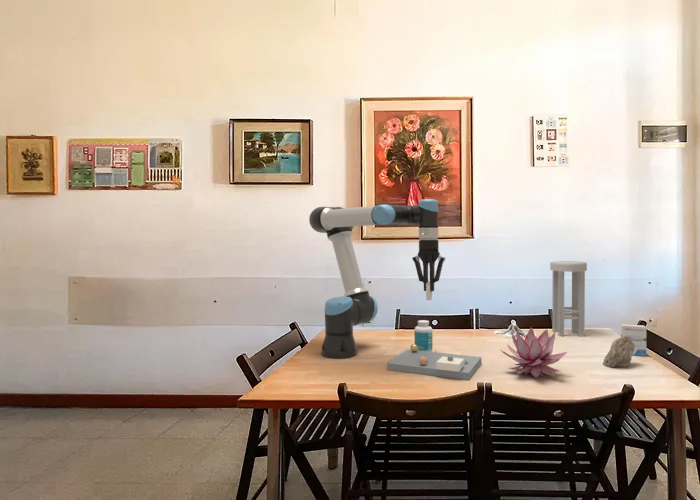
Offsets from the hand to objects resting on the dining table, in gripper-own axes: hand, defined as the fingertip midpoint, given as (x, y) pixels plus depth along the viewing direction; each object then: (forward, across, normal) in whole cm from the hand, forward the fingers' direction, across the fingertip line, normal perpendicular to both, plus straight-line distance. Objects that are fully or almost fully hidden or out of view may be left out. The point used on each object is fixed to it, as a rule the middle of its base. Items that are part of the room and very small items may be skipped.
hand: (429, 299), depth 184 cm
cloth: (+25, +23, +63) cm, 72 cm away
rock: (+25, +66, +24) cm, 74 cm away
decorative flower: (+25, +38, 0) cm, 45 cm away
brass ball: (+20, -7, +2) cm, 22 cm away
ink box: (+25, +72, +43) cm, 87 cm away
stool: (+25, +47, +73) cm, 90 cm away
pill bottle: (+25, -6, +11) cm, 28 cm away
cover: (+22, +12, -14) cm, 28 cm away
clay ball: (+20, +2, -14) cm, 25 cm away
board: (+24, +4, -6) cm, 25 cm away
